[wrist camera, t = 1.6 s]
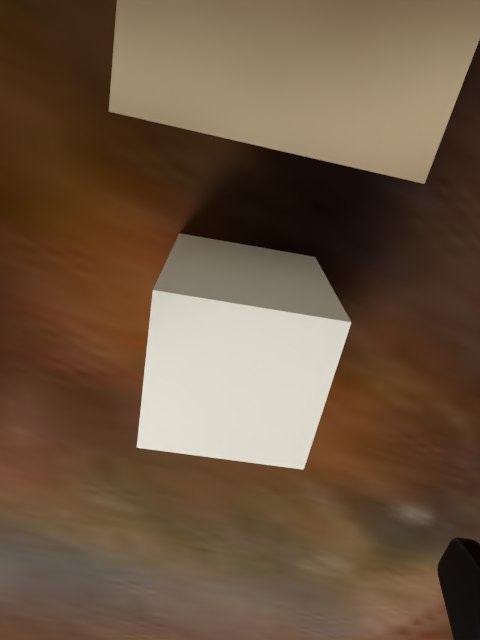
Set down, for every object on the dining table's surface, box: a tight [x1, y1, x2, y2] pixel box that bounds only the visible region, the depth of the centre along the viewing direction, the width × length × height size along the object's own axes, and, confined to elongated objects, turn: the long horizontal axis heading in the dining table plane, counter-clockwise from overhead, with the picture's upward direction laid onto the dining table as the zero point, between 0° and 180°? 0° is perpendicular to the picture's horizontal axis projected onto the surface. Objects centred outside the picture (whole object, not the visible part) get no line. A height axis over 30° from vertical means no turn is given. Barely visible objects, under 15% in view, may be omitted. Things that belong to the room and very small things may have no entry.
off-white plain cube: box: [137, 233, 351, 470], centre depth 15 cm, size 5×5×6 cm
